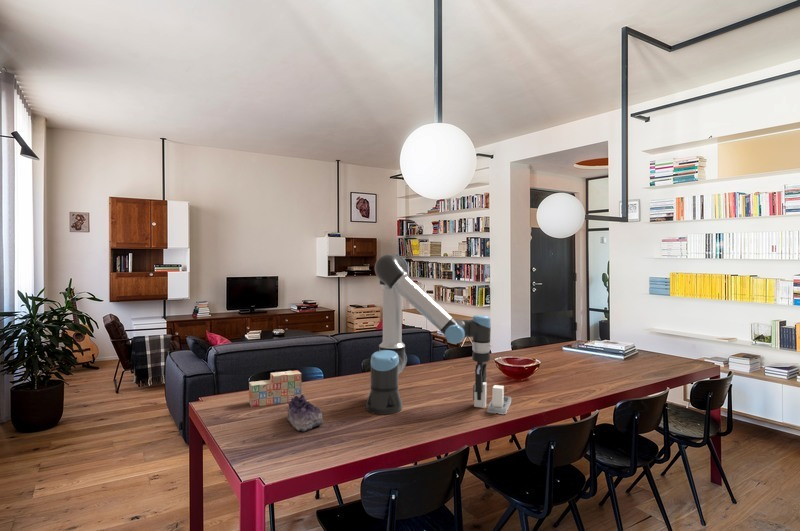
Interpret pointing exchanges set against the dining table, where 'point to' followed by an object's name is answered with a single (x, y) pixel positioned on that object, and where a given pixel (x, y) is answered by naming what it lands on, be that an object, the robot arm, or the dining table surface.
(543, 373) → the dining table surface
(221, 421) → the dining table surface
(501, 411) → the rail
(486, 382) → the block
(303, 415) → the geode
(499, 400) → the block
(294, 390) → the stack of blocks
